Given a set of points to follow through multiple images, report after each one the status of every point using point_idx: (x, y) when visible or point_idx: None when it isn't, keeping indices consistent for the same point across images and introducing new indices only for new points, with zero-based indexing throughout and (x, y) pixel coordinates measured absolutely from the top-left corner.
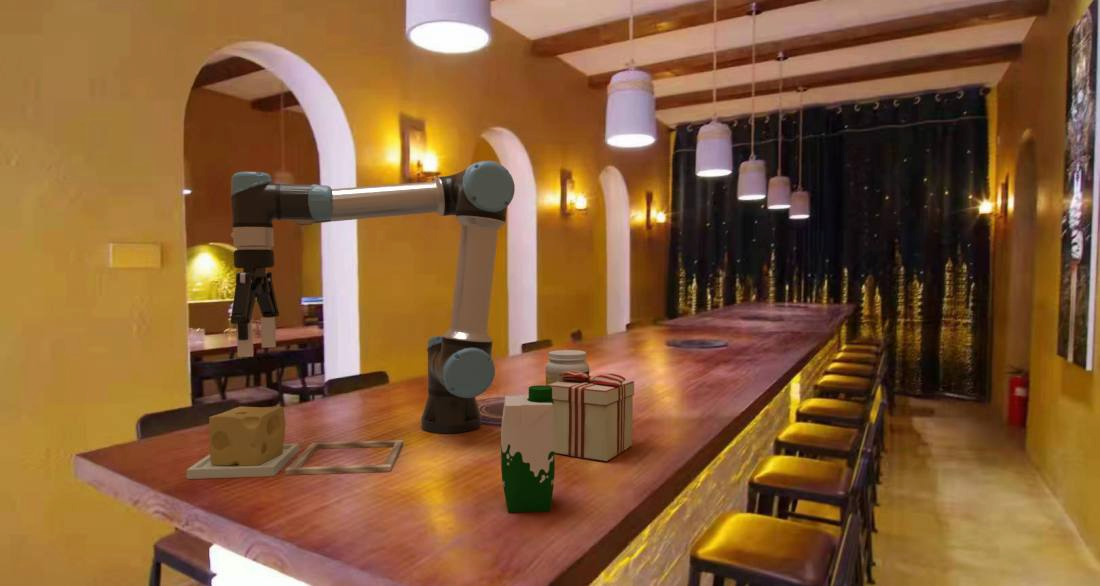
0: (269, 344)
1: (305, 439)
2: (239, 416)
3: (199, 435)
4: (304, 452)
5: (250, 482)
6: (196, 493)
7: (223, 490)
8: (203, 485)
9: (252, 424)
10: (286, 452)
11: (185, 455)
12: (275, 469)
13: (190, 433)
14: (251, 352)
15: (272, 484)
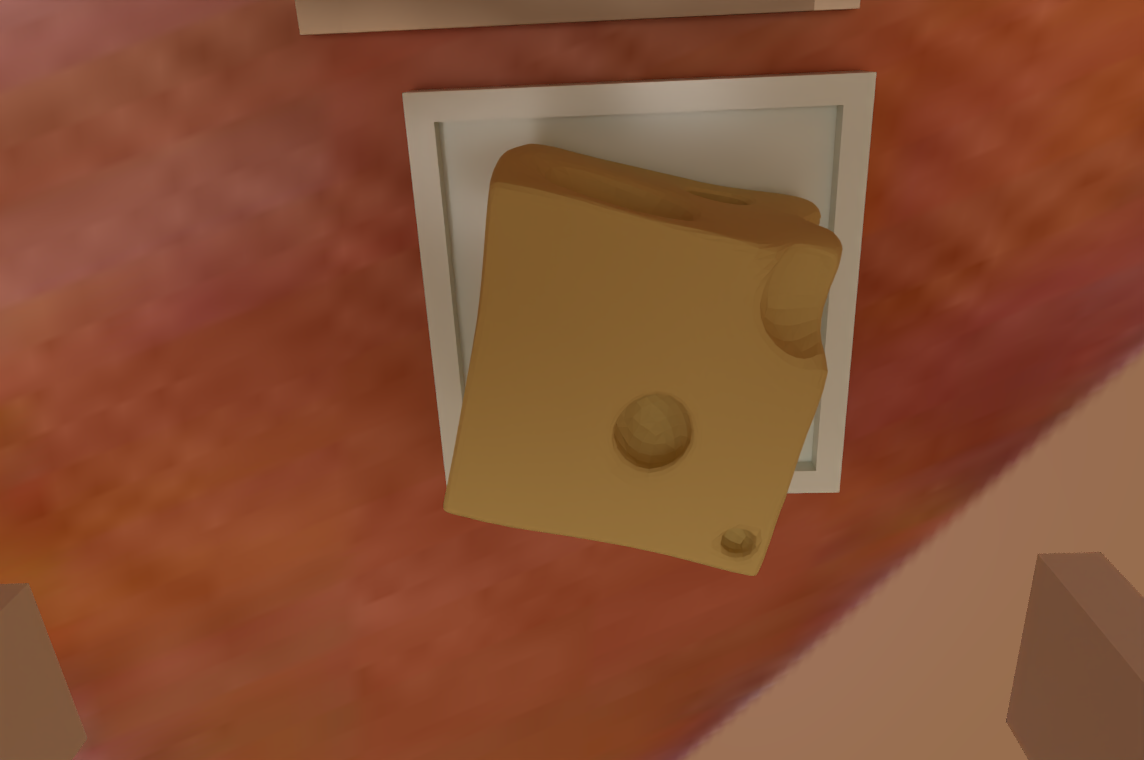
0: (22, 683)
1: (152, 141)
2: (789, 395)
3: (155, 692)
4: (519, 11)
5: (937, 160)
6: (1042, 348)
7: (1031, 245)
8: (933, 365)
9: (771, 294)
10: (589, 102)
11: (474, 618)
12: (838, 72)
13: (129, 738)
14: (1135, 600)
15: (998, 25)
